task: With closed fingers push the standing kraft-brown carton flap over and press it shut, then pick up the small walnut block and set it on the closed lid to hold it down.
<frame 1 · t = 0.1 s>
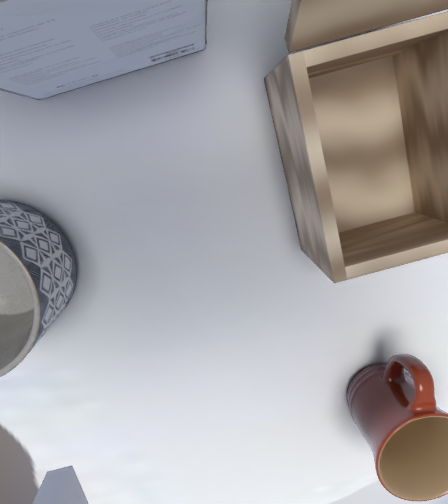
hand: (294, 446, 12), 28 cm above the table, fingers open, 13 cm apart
mug: (376, 375, 44), on the table
planter: (12, 264, 39), on the table
hard drive box: (106, 30, 35), on the table
carton: (346, 152, 38), on the table
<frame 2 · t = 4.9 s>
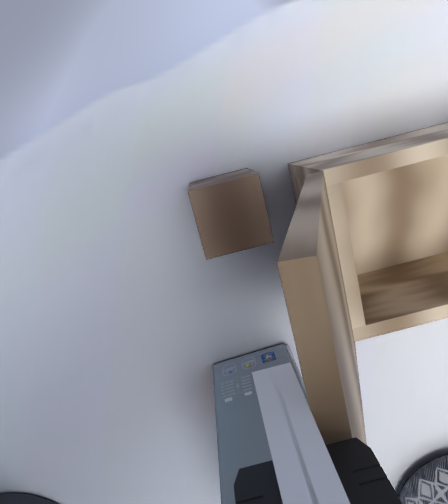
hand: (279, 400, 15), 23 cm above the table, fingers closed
lid: (331, 322, 19), point 18 cm above the table, hinge at 107.5°, touching gripper
walnut block: (225, 203, 36), on the table
planter: (447, 492, 45), on the table
hard drive box: (268, 417, 41), on the table
carton: (389, 208, 37), on the table
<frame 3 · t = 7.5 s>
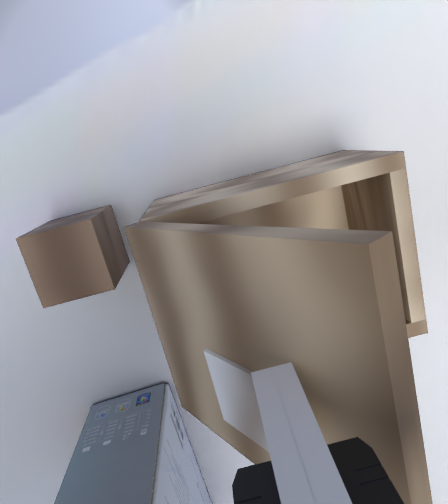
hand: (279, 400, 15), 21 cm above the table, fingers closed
lid: (240, 357, 18), point 18 cm above the table, hinge at 58.5°, touching gripper
walnut block: (91, 241, 34), on the table
hard drive box: (156, 457, 40), on the table
carton: (265, 243, 35), on the table
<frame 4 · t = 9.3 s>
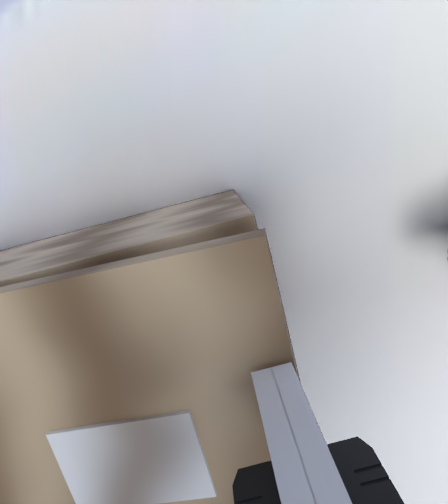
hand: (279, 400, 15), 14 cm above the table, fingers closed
lid: (102, 416, 17), point 12 cm above the table, hinge at 9.6°, touching gripper
carton: (141, 304, 28), on the table
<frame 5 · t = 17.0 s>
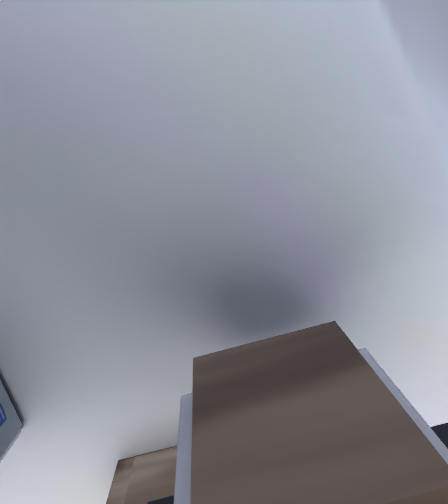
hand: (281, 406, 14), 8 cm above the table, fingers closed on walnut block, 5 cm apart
walnut block: (279, 401, 15), point 8 cm above the table, touching gripper
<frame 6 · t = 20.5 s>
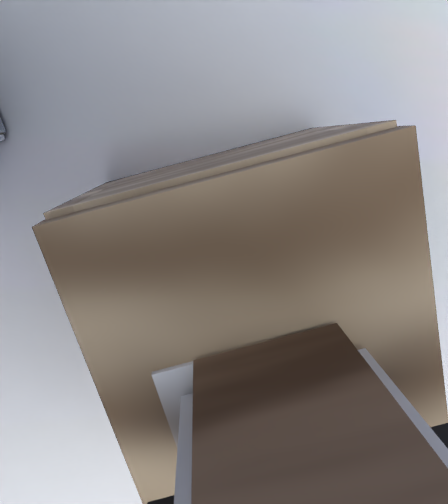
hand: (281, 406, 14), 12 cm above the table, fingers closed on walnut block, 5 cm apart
lid: (276, 388, 15), point 11 cm above the table, hinge at -0.8°, touching carton, gripper
walnut block: (280, 403, 15), point 11 cm above the table, touching gripper
carton: (242, 284, 25), on the table
when the fingers open (12 cm above the table, at t = 20.7 s): walnut block stays where it is, resting on lid.
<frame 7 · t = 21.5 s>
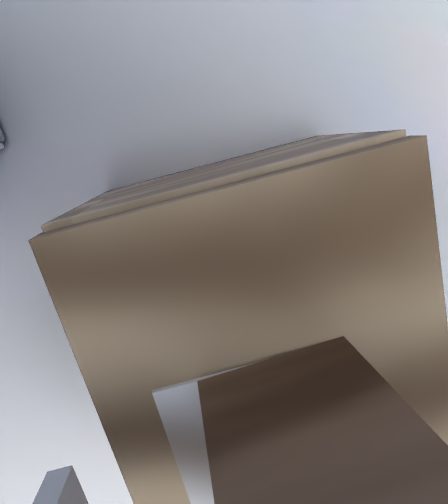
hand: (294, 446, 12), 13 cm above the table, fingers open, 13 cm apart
lid: (281, 406, 15), point 11 cm above the table, hinge at -0.7°, touching carton, walnut block
walnut block: (287, 421, 14), point 11 cm above the table, touching lid
carton: (245, 294, 25), on the table
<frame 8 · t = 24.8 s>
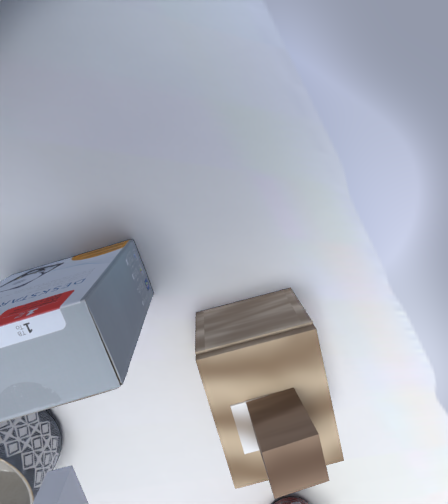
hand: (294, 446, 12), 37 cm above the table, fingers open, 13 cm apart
mug: (288, 503, 59), on the table
lid: (272, 410, 42), point 11 cm above the table, hinge at -0.7°, touching carton, walnut block
walnut block: (275, 415, 42), point 11 cm above the table, touching lid
planter: (15, 433, 53), on the table
hard drive box: (82, 284, 49), on the table
carton: (257, 356, 52), on the table
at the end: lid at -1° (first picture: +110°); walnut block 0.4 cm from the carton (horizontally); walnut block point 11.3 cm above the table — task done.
